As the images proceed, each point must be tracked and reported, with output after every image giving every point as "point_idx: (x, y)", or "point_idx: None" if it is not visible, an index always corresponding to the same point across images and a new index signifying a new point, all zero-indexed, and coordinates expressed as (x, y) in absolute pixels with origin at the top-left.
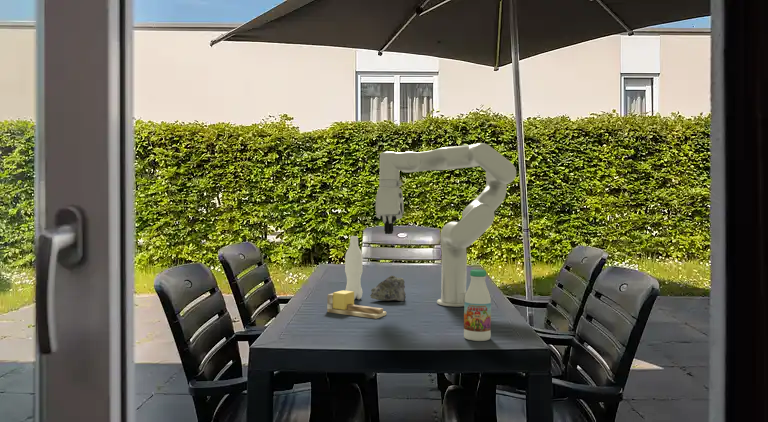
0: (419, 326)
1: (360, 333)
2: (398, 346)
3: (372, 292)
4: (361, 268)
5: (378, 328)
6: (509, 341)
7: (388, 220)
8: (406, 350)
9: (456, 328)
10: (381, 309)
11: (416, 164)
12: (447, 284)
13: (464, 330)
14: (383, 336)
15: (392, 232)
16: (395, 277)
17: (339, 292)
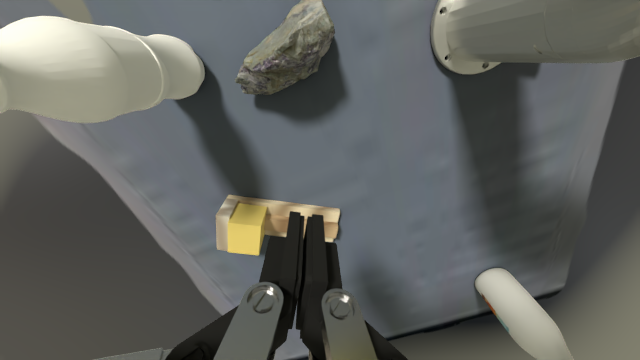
0: (410, 254)
1: None
2: (398, 326)
3: (244, 85)
4: (156, 75)
5: (355, 280)
6: (531, 277)
7: (277, 321)
8: (409, 333)
9: (467, 246)
10: (336, 232)
11: None
12: (498, 59)
13: (480, 294)
14: (372, 305)
15: (323, 220)
16: (299, 32)
17: (238, 245)
